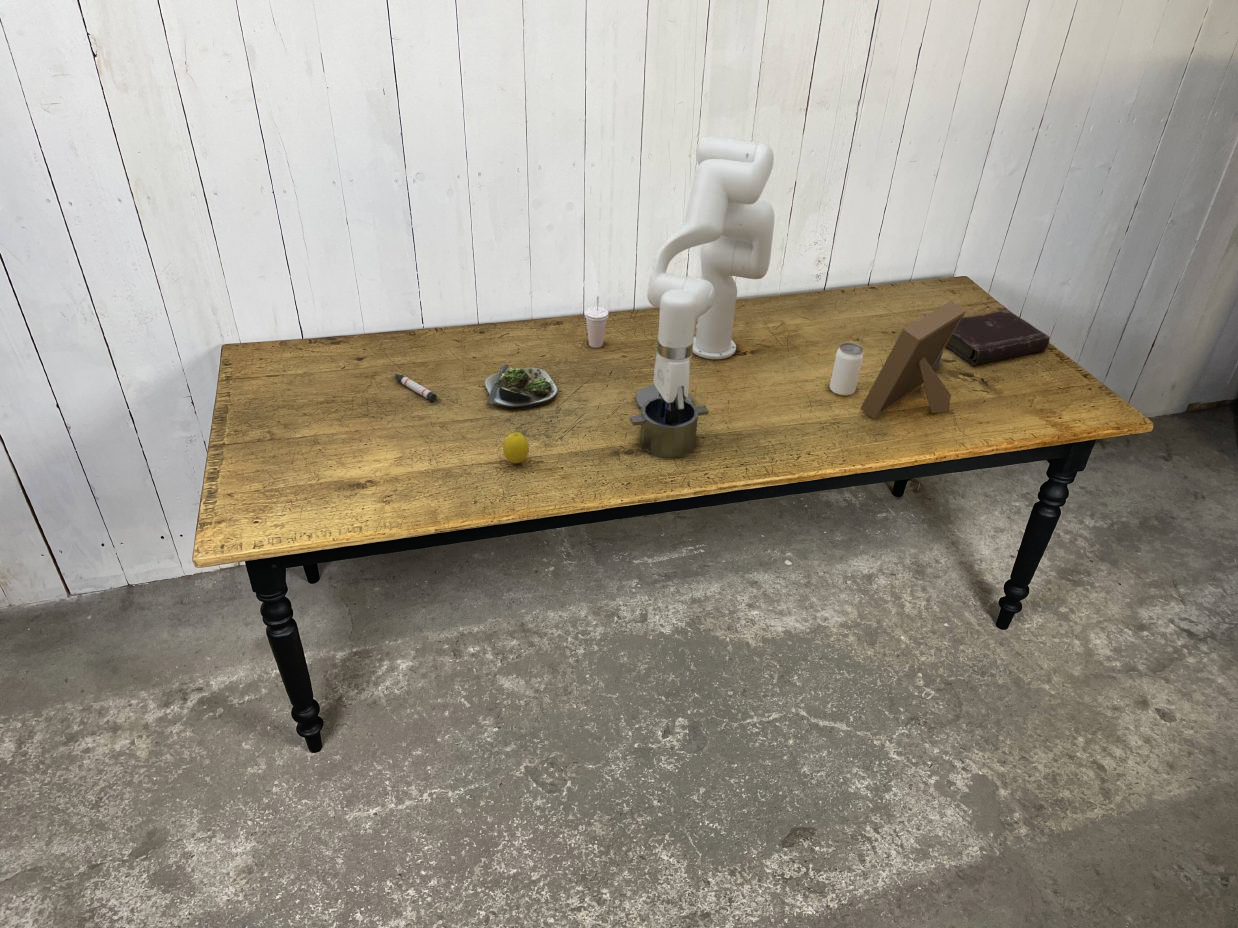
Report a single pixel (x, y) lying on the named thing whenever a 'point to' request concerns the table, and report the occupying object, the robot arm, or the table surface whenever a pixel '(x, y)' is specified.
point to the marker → (416, 387)
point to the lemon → (515, 448)
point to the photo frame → (915, 363)
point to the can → (846, 369)
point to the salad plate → (520, 388)
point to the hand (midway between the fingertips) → (669, 419)
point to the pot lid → (649, 395)
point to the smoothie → (596, 324)
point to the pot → (668, 429)
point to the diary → (995, 337)
